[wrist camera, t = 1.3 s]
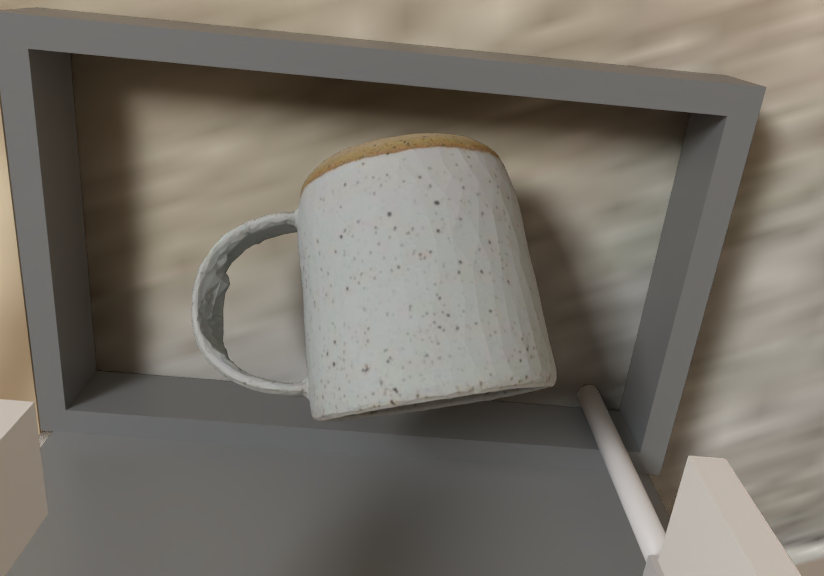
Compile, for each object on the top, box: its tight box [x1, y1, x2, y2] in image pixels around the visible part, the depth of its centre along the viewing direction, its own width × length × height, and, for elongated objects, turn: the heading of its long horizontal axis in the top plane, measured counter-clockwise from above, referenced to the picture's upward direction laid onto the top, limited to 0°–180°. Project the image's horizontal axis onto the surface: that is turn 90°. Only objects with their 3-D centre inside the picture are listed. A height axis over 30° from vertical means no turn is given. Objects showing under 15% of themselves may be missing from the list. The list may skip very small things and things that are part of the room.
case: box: [0, 7, 766, 576], centre depth 23 cm, size 24×16×11 cm, turn 85°
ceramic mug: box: [192, 133, 557, 422], centre depth 23 cm, size 11×8×8 cm
